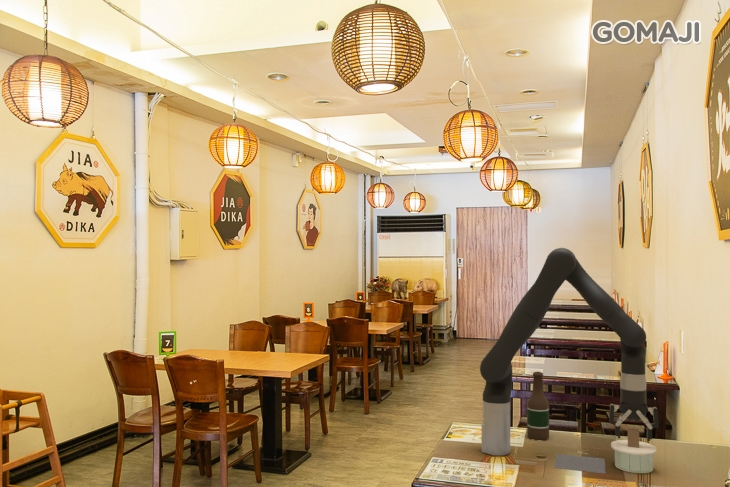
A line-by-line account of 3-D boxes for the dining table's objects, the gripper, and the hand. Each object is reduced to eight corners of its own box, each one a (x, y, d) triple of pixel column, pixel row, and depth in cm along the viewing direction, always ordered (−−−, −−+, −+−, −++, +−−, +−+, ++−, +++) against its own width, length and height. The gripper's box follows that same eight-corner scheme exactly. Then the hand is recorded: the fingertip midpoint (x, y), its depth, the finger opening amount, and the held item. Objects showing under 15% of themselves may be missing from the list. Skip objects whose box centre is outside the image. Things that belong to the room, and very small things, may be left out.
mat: (554, 469, 197) (554, 467, 197) (556, 454, 211) (556, 453, 211) (605, 474, 191) (605, 473, 191) (604, 459, 206) (604, 458, 206)
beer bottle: (550, 441, 226) (549, 374, 227) (527, 440, 228) (527, 373, 228) (548, 435, 234) (548, 370, 234) (526, 434, 235) (526, 370, 236)
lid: (611, 452, 194) (611, 433, 194) (610, 441, 206) (610, 422, 206) (658, 457, 189) (657, 437, 189) (654, 445, 201) (654, 426, 202)
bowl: (615, 471, 194) (615, 452, 194) (614, 461, 205) (614, 442, 205) (654, 476, 190) (654, 456, 191) (651, 464, 201) (651, 446, 201)
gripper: (609, 388, 197) (609, 440, 197) (659, 391, 192) (659, 444, 192) (608, 383, 204) (609, 433, 204) (656, 386, 199) (657, 438, 199)
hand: (633, 439), depth 198 cm, fingers open, 8 cm apart
